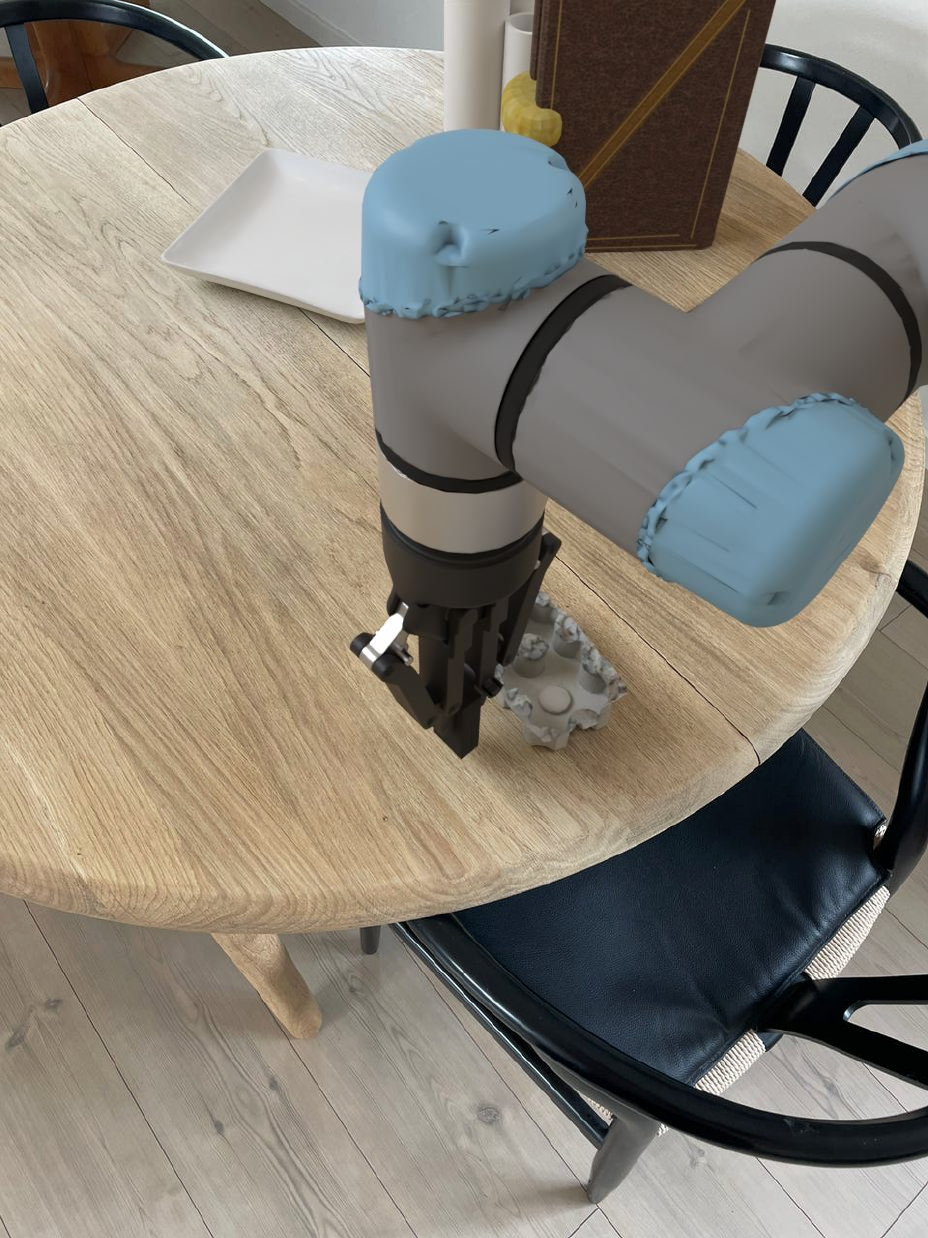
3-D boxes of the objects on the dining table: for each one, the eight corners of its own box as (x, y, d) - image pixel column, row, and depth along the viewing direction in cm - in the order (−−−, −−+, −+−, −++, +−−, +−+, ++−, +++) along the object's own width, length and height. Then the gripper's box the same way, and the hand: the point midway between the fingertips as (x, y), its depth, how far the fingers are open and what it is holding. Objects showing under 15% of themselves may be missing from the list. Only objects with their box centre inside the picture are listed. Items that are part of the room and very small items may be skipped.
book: (702, 205, 101) (770, -73, 80) (720, 255, 96) (797, -26, 75) (490, 210, 100) (504, -71, 79) (498, 261, 95) (514, -24, 74)
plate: (456, 219, 99) (457, 188, 96) (369, 349, 87) (367, 317, 84) (269, 172, 103) (265, 141, 100) (163, 290, 91) (154, 258, 88)
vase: (437, 161, 104) (437, -50, 88) (451, 125, 108) (453, -83, 92) (541, 175, 103) (560, -36, 87) (551, 139, 107) (571, -69, 91)
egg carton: (626, 723, 66) (636, 693, 63) (529, 767, 64) (534, 738, 61) (548, 607, 72) (554, 573, 68) (457, 644, 70) (458, 612, 66)
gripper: (508, 386, 48) (488, 646, 67) (295, 521, 43) (340, 761, 62) (622, 470, 45) (566, 717, 64) (407, 627, 40) (418, 844, 59)
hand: (455, 738), depth 63 cm, fingers closed
